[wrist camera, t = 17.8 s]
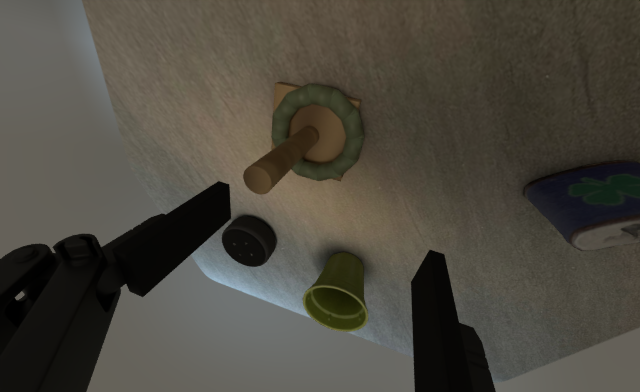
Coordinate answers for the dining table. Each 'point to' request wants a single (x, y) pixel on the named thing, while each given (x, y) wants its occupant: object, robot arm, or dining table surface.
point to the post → (299, 143)
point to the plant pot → (338, 294)
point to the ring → (340, 108)
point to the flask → (592, 203)
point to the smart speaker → (248, 241)
